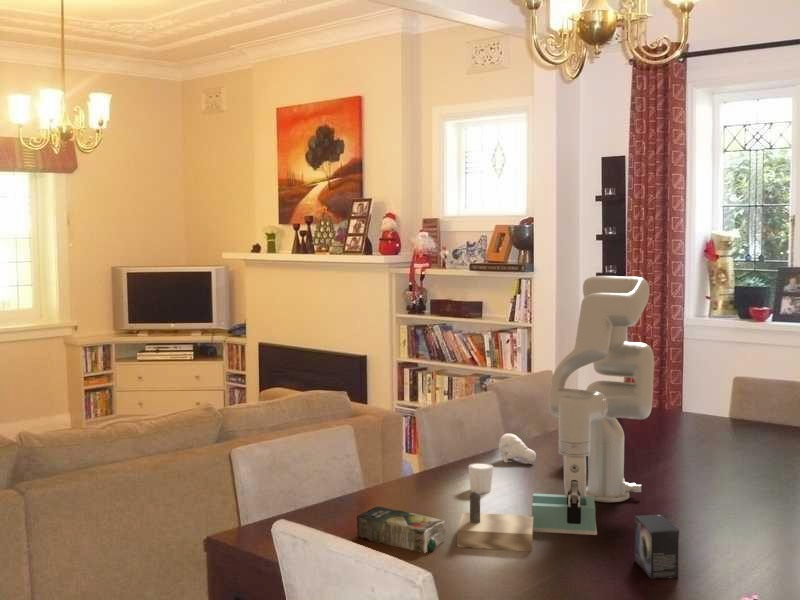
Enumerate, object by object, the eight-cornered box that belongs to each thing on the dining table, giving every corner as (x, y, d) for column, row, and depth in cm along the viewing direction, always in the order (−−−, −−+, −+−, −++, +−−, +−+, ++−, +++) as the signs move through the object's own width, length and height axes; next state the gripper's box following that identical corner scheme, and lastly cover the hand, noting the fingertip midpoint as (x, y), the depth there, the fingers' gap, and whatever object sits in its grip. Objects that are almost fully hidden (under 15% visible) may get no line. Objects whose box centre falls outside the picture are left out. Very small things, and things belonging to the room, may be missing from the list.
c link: (593, 517, 228) (593, 496, 227) (595, 531, 218) (595, 508, 218) (533, 514, 230) (533, 493, 230) (531, 527, 221) (532, 505, 220)
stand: (533, 532, 219) (533, 486, 218) (531, 551, 206) (532, 502, 205) (463, 528, 222) (463, 483, 221) (457, 547, 209) (457, 499, 208)
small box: (632, 561, 200) (633, 514, 200) (661, 560, 201) (662, 513, 200) (649, 579, 190) (650, 530, 189) (679, 578, 190) (680, 529, 190)
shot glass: (491, 494, 250) (491, 469, 249) (466, 493, 251) (466, 468, 250) (494, 487, 256) (494, 463, 256) (469, 486, 258) (469, 462, 257)
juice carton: (450, 542, 213) (449, 516, 213) (429, 555, 205) (428, 529, 204) (378, 528, 224) (377, 504, 223) (355, 540, 215) (355, 515, 215)
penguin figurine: (506, 430, 289) (541, 438, 282) (504, 456, 290) (538, 465, 283) (497, 434, 283) (532, 442, 277) (495, 460, 284) (530, 469, 278)
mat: (595, 518, 229) (595, 516, 229) (596, 534, 217) (597, 532, 217) (534, 515, 231) (534, 513, 231) (533, 531, 220) (533, 529, 220)
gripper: (591, 456, 209) (590, 529, 210) (589, 439, 226) (588, 506, 227) (558, 455, 210) (557, 527, 212) (558, 438, 227) (557, 505, 229)
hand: (573, 516), depth 220 cm, fingers open, 9 cm apart
